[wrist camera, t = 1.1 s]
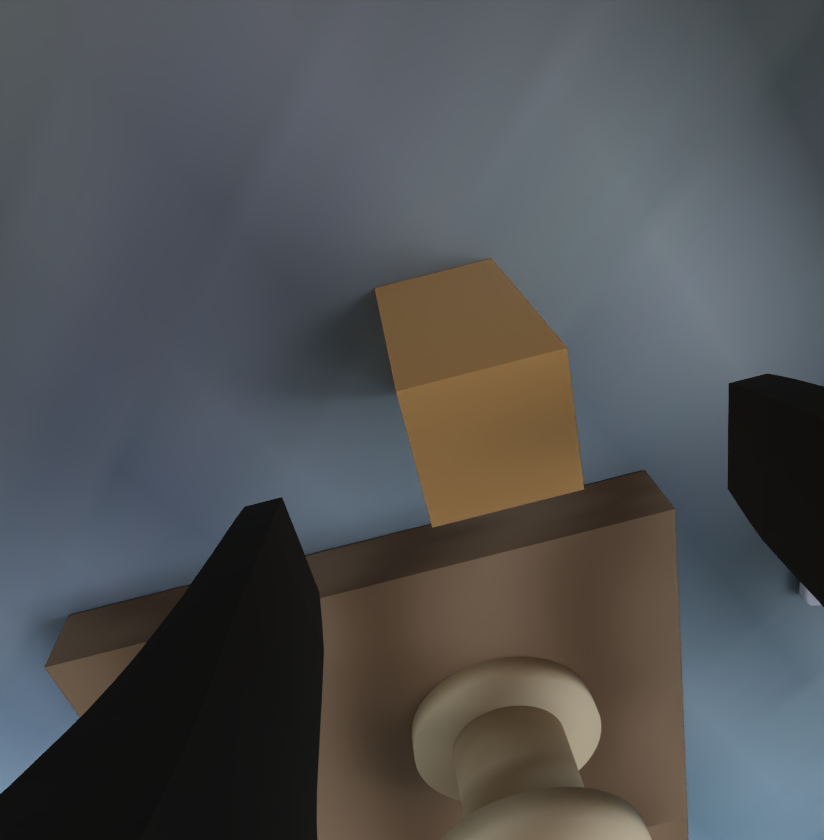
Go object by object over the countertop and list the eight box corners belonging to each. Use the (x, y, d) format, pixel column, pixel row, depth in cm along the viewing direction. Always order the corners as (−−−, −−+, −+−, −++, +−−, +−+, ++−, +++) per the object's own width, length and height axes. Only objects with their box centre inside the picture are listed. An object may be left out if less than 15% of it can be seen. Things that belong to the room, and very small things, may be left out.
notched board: (644, 470, 20) (675, 509, 18) (668, 836, 30) (690, 884, 28) (68, 615, 20) (44, 667, 19) (277, 932, 30) (274, 987, 28)
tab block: (491, 258, 17) (567, 348, 11) (509, 365, 18) (584, 489, 13) (374, 288, 17) (395, 391, 11) (402, 393, 18) (432, 527, 13)
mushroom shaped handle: (583, 636, 20) (654, 793, 16) (600, 756, 23) (663, 918, 19) (392, 684, 20) (409, 854, 16) (432, 798, 23) (457, 968, 19)
